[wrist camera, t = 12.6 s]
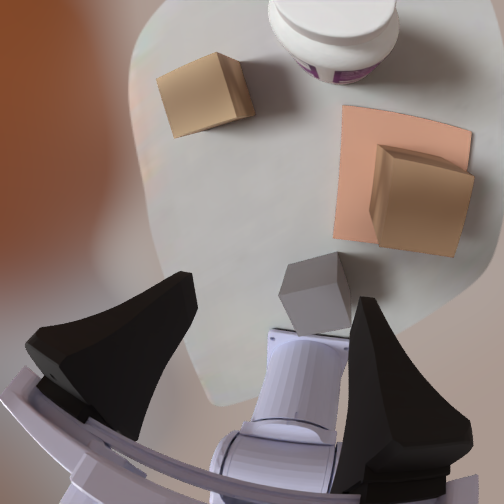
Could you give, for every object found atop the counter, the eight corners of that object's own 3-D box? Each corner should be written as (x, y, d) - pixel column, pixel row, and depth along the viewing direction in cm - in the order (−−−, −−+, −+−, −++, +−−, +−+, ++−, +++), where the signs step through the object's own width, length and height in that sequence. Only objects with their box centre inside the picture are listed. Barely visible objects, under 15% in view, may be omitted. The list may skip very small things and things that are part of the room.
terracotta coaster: (444, 249, 17) (447, 253, 16) (333, 234, 19) (333, 238, 19) (467, 130, 13) (471, 131, 12) (342, 105, 15) (342, 105, 14)
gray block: (350, 292, 21) (351, 327, 18) (305, 302, 23) (298, 336, 20) (337, 251, 20) (336, 282, 16) (288, 264, 22) (278, 295, 18)
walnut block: (428, 220, 16) (453, 257, 12) (368, 211, 17) (379, 246, 13) (440, 156, 14) (474, 176, 10) (376, 144, 15) (394, 157, 11)
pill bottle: (377, 20, 11) (414, -49, 3) (373, 92, 14) (420, 76, 6) (293, 8, 12) (252, -68, 4) (288, 79, 15) (242, 50, 7)
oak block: (255, 114, 17) (236, 117, 13) (203, 131, 18) (174, 138, 15) (239, 61, 15) (216, 51, 12) (187, 81, 16) (155, 79, 13)
